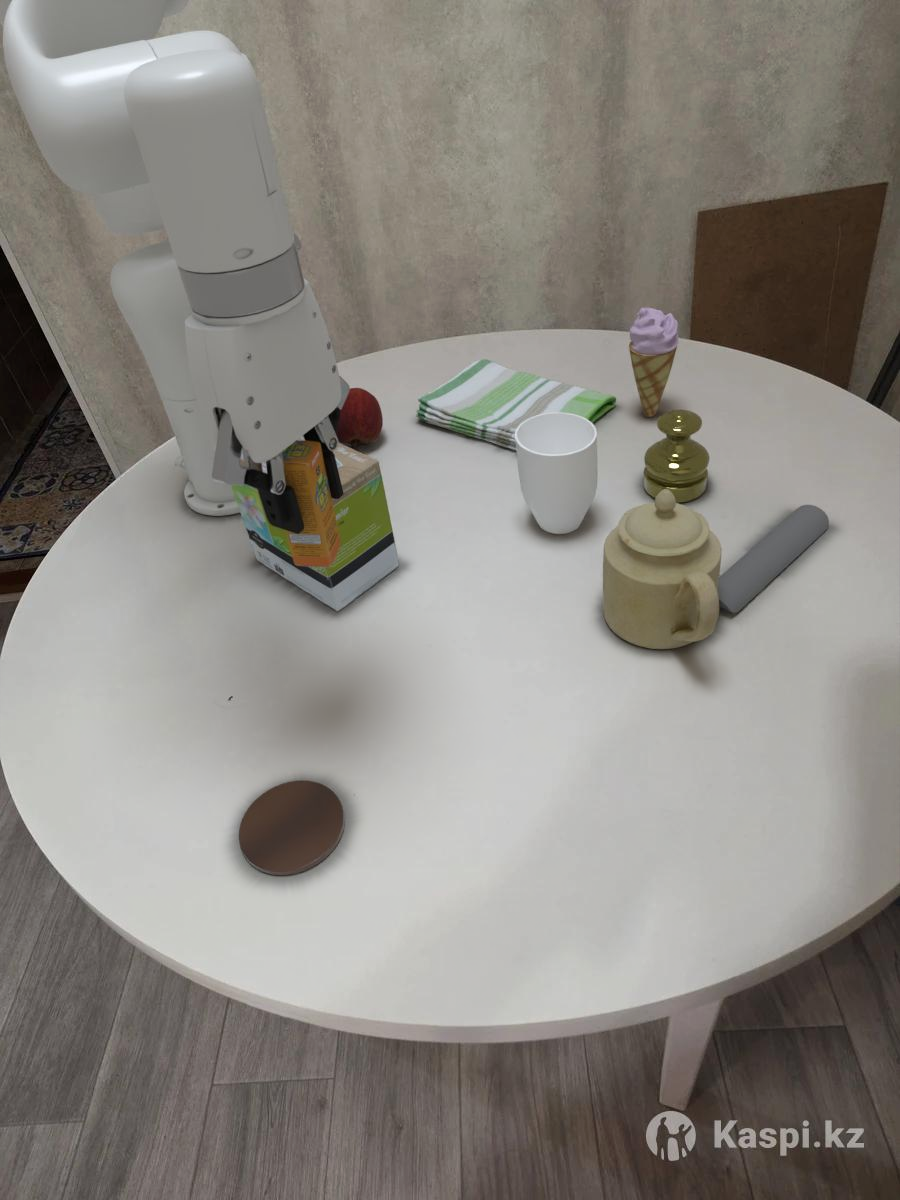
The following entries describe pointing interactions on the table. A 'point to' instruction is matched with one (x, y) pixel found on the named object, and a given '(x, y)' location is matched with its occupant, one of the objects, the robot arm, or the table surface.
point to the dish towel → (504, 402)
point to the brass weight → (677, 458)
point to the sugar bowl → (661, 575)
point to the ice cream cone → (652, 355)
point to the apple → (359, 418)
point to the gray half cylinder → (770, 557)
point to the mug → (557, 468)
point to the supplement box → (311, 505)
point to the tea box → (360, 532)
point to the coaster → (291, 827)
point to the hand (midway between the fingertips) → (306, 508)
